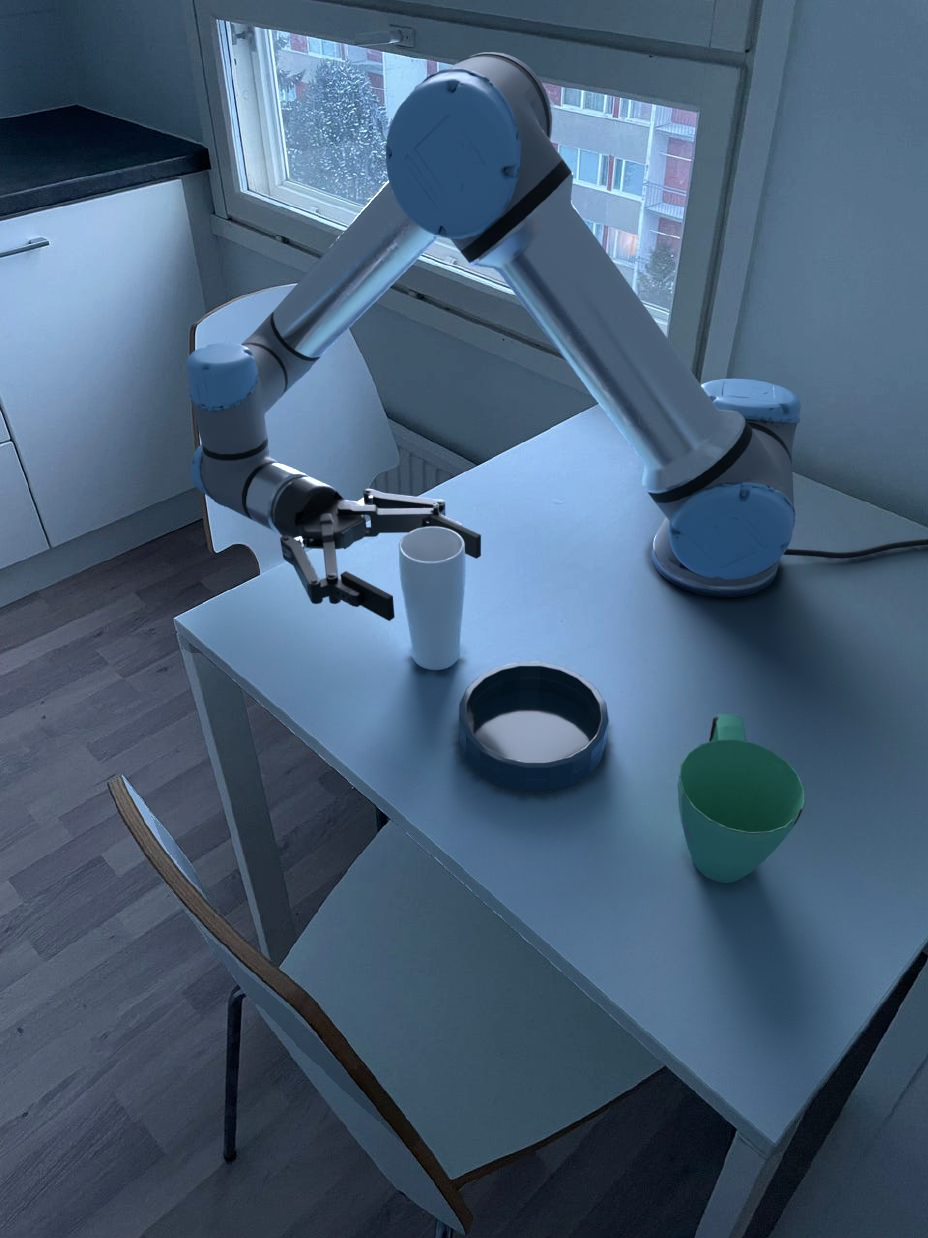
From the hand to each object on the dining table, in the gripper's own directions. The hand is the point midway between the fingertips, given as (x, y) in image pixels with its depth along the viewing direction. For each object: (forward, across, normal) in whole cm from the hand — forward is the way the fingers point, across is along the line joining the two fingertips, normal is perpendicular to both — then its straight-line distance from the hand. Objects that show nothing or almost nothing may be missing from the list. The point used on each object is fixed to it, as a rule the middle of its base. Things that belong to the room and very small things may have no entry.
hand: (437, 576), depth 91 cm
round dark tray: (+15, +3, -11) cm, 19 cm away
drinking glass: (0, 0, -11) cm, 11 cm away
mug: (+35, +2, -11) cm, 37 cm away
